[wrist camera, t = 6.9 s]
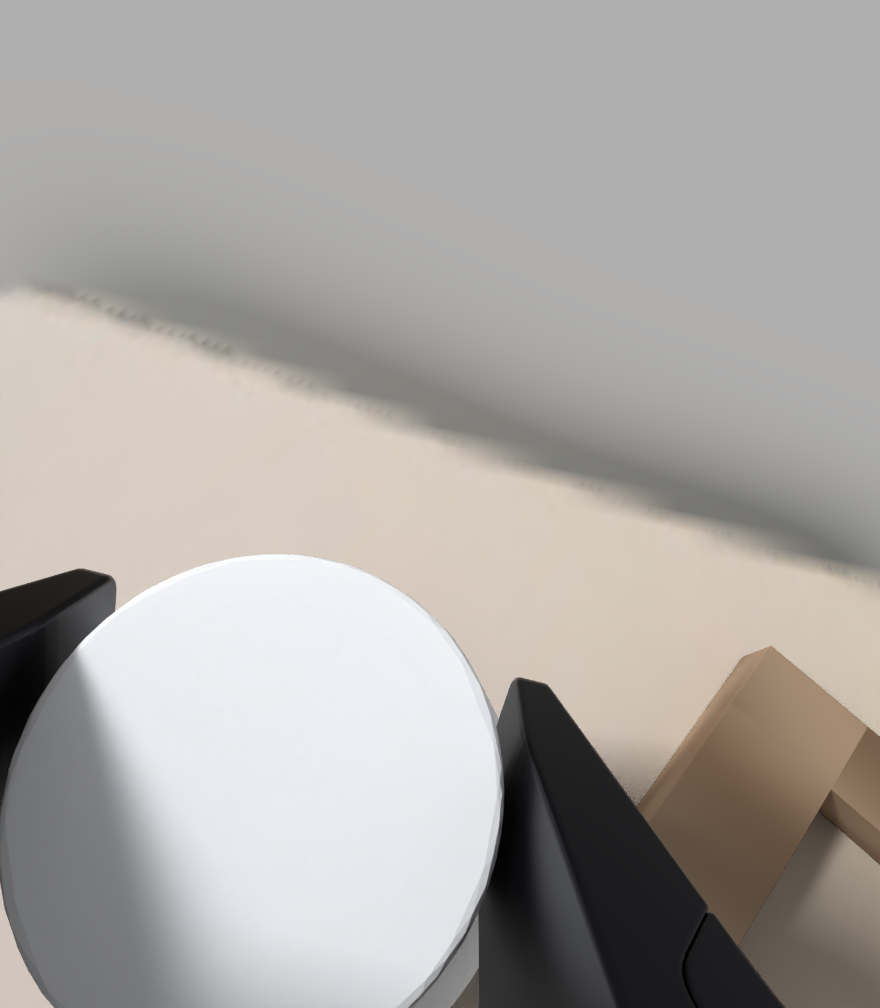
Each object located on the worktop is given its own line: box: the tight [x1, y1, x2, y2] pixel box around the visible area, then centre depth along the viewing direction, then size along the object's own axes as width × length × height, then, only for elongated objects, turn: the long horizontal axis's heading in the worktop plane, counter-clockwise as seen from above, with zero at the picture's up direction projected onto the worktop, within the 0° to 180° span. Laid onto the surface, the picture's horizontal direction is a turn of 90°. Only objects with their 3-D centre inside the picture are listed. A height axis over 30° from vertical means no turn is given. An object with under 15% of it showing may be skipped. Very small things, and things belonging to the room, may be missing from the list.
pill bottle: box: [0, 554, 504, 1008], centre depth 12 cm, size 6×6×11 cm
